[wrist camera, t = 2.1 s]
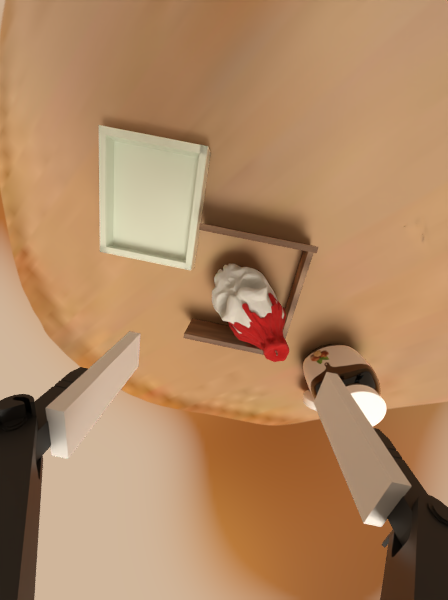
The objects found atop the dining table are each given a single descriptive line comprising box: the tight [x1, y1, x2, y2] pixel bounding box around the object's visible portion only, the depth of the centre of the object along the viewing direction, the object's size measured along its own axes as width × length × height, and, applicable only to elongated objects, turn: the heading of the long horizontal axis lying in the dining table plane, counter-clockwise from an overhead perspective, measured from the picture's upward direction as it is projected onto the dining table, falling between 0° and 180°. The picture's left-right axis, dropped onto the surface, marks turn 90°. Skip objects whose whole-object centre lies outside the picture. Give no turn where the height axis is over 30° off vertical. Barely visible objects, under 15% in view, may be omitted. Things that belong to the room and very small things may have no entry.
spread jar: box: [303, 344, 386, 426], centre depth 35 cm, size 12×11×12 cm
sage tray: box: [99, 125, 211, 270], centre depth 32 cm, size 17×15×3 cm
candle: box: [212, 263, 289, 362], centre depth 32 cm, size 9×11×15 cm
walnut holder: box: [184, 223, 318, 355], centre depth 33 cm, size 18×17×6 cm
